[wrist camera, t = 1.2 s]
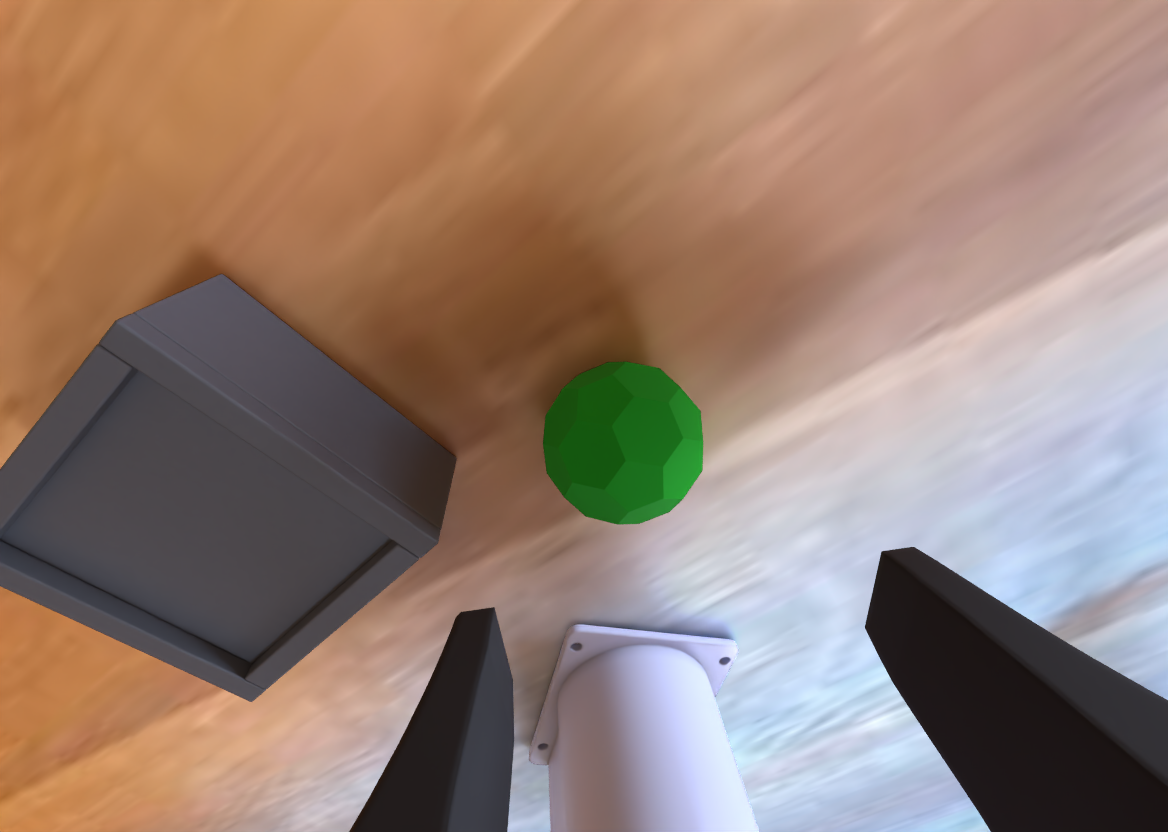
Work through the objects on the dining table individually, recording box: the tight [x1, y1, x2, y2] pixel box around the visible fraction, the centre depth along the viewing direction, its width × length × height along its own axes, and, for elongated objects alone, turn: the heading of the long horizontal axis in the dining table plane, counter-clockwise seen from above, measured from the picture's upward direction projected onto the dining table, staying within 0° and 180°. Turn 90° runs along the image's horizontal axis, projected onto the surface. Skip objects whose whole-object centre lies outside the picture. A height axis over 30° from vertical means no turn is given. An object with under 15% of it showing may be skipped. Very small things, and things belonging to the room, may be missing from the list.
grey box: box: [0, 274, 457, 702], centre depth 17 cm, size 9×9×5 cm
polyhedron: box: [543, 362, 703, 524], centre depth 17 cm, size 5×5×5 cm
